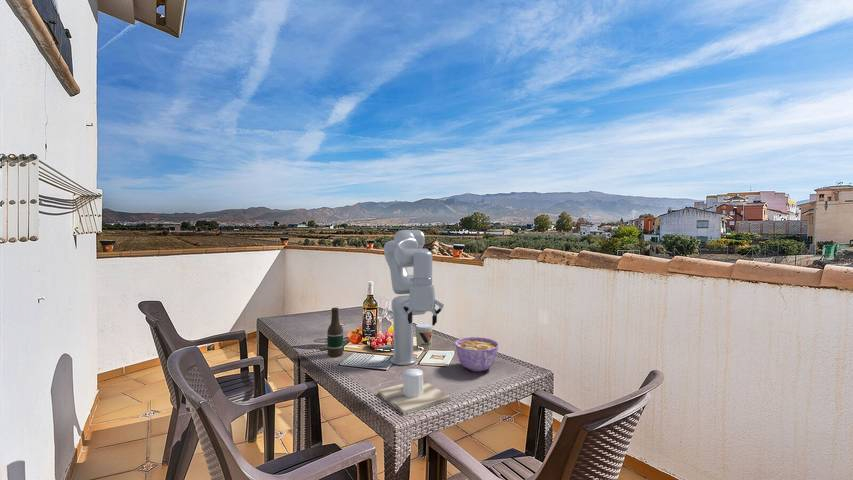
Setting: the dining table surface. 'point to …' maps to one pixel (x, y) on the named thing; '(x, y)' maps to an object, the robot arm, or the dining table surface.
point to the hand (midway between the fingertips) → (422, 323)
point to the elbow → (413, 383)
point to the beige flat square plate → (410, 403)
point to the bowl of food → (477, 352)
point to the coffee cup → (424, 335)
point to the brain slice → (384, 347)
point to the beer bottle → (335, 335)
